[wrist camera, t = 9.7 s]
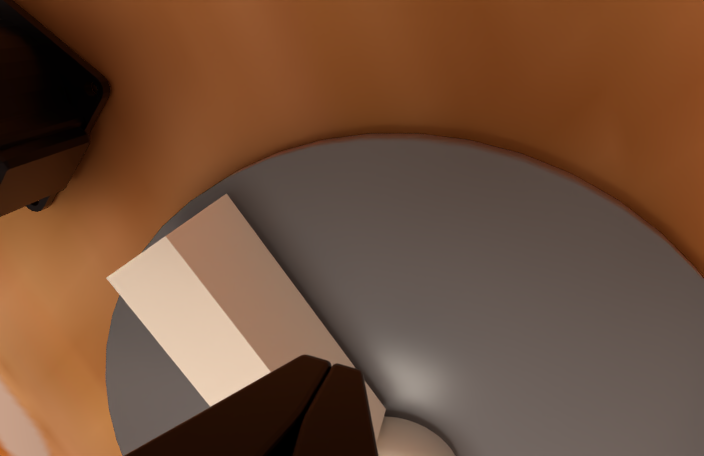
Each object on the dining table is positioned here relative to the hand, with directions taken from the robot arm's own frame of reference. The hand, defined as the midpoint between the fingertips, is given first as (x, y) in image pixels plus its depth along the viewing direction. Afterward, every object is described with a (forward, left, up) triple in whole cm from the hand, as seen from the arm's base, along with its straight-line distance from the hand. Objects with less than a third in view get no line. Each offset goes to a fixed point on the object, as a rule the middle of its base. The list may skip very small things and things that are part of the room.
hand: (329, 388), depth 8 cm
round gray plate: (+7, -9, -12) cm, 17 cm away
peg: (+6, -9, -10) cm, 15 cm away
